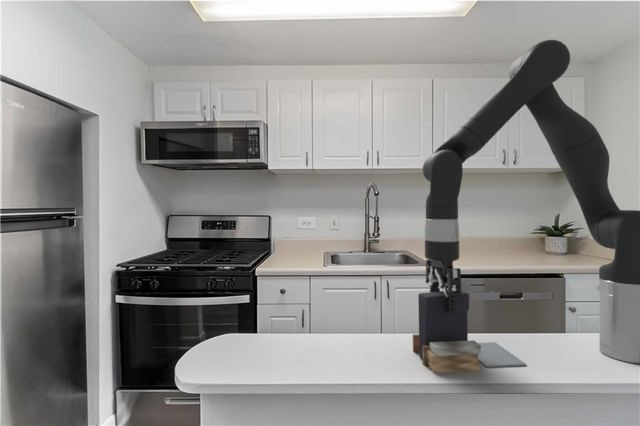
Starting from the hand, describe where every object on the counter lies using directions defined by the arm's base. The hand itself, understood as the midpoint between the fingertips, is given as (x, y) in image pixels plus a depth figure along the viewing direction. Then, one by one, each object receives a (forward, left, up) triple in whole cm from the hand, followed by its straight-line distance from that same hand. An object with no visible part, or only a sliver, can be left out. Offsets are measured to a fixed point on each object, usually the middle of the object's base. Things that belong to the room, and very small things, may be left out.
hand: (442, 308), depth 79 cm
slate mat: (-12, 0, -11) cm, 16 cm away
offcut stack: (0, +6, -11) cm, 13 cm away
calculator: (0, 0, -12) cm, 12 cm away
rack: (0, 0, -11) cm, 11 cm away
